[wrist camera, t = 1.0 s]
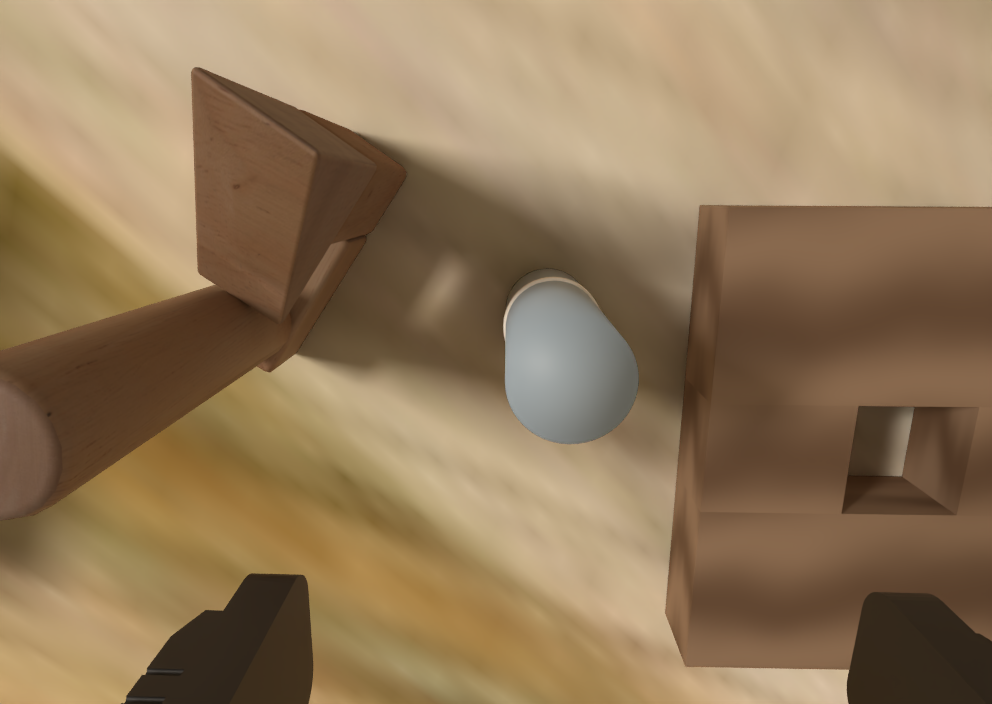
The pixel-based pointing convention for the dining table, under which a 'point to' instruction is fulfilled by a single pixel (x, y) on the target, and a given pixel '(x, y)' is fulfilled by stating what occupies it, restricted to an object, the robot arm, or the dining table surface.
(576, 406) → the peg
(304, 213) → the brown wedge-headed part
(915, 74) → the dining table surface
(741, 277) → the socket block
